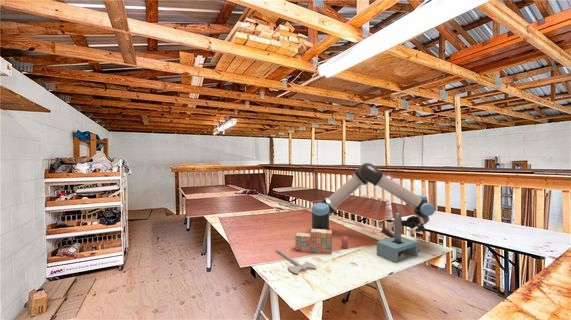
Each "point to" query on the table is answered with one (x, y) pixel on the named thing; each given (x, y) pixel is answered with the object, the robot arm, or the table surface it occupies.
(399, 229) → the long pin
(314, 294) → the table surface
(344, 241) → the short pin
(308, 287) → the table surface
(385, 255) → the bridge
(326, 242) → the stack of blocks
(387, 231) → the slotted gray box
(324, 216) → the robot arm
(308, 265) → the axe
